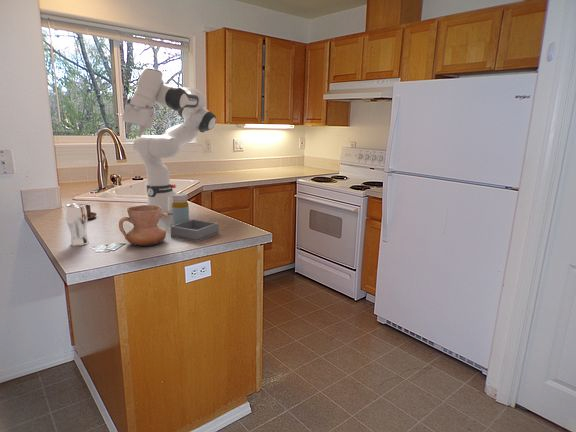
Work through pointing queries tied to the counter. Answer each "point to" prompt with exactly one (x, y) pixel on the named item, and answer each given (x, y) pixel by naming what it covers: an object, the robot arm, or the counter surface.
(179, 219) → the bottle
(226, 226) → the counter surface
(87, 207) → the cup and saucer
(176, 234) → the box
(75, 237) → the beer glass
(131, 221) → the ceramic jug
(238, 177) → the counter surface
